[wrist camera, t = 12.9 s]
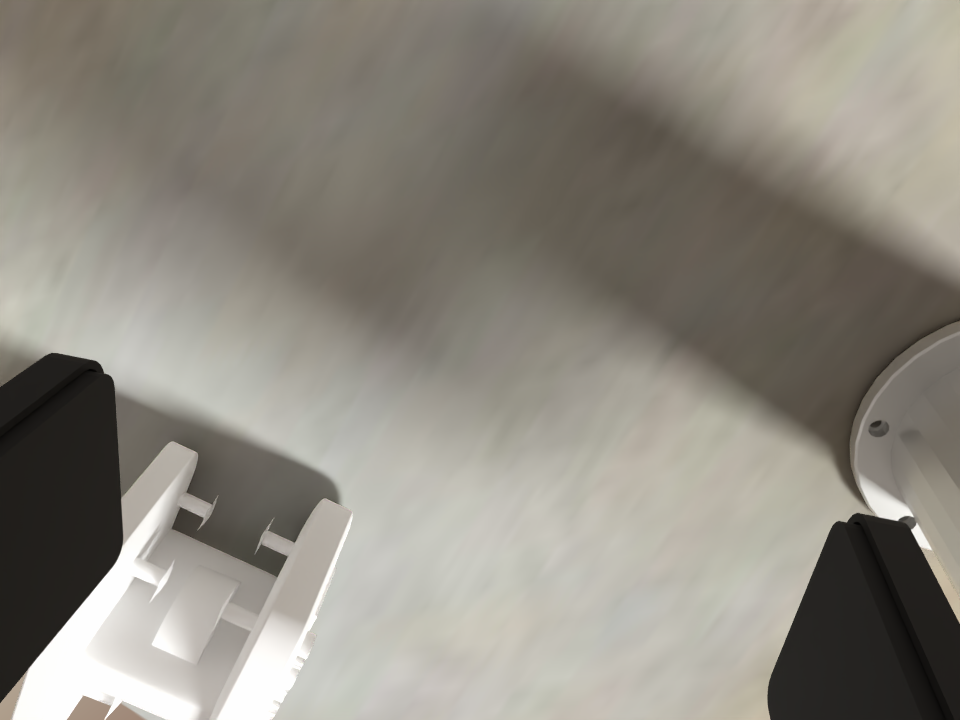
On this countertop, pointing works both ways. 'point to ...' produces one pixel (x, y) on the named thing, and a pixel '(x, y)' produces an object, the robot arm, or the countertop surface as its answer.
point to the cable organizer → (188, 614)
